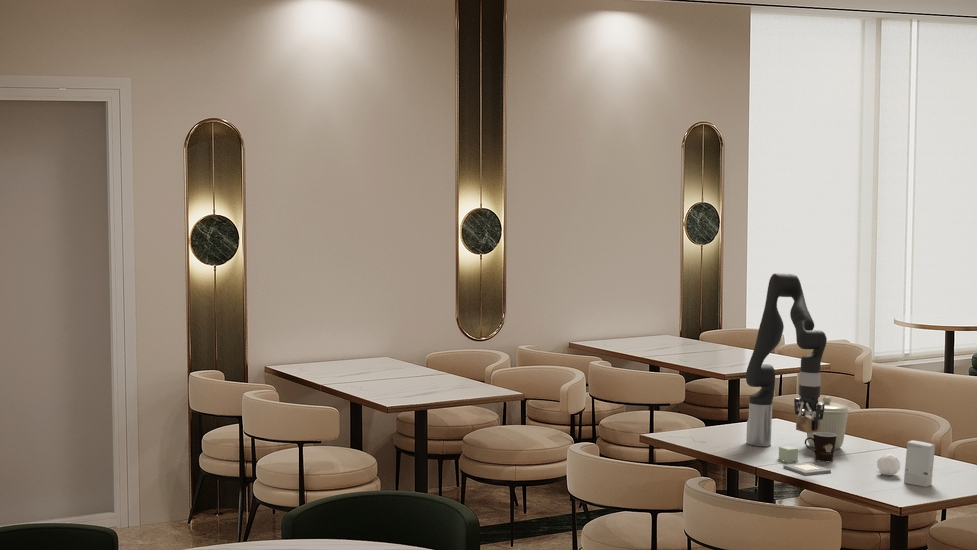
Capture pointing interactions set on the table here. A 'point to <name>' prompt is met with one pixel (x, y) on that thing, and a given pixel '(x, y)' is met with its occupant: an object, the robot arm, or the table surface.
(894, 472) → the white rounded lump
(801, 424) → the walnut block
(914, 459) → the skincare box
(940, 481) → the table surface
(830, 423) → the canister
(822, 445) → the coffee mug
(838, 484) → the table surface
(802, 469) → the slate board
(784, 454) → the sage cube
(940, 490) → the table surface
